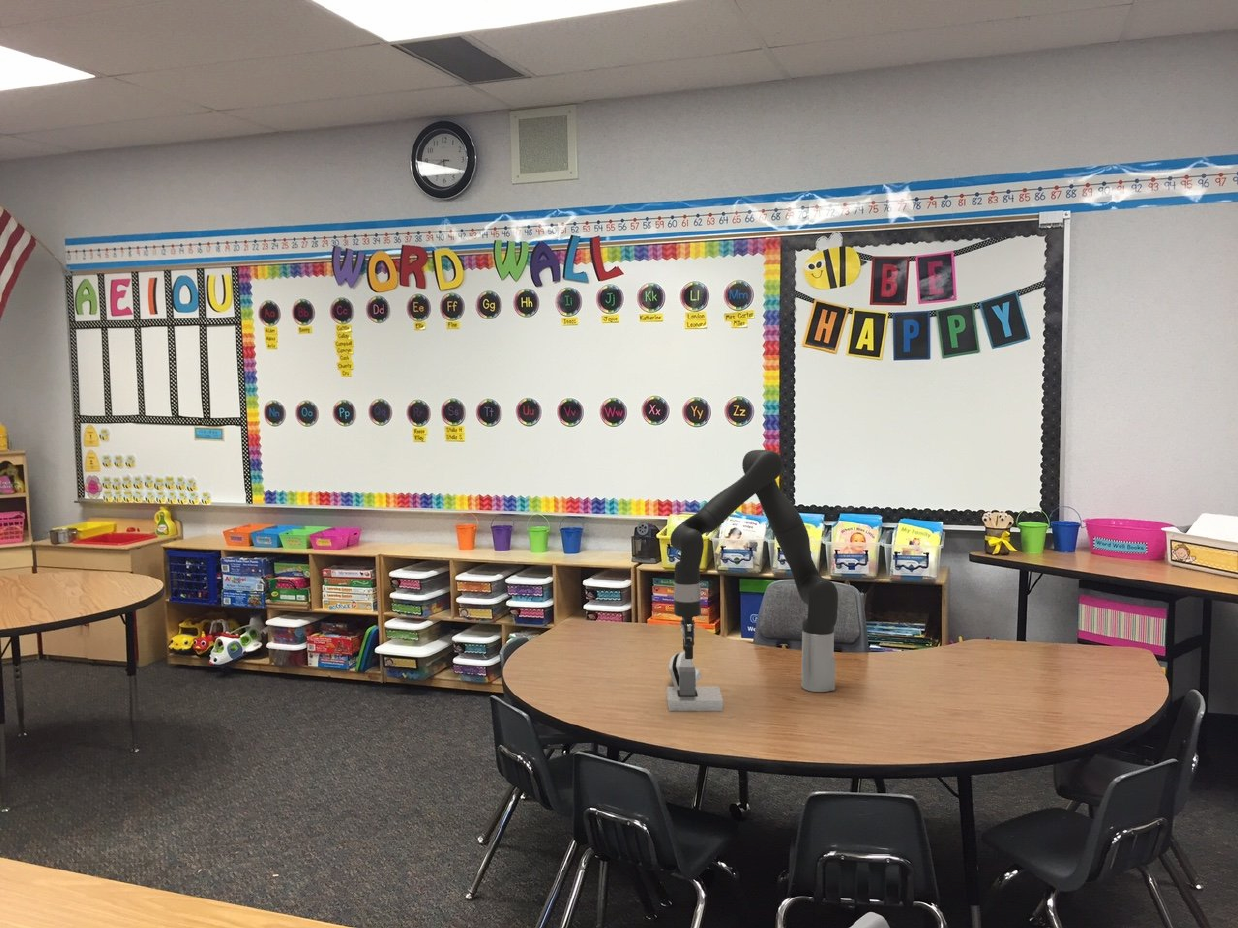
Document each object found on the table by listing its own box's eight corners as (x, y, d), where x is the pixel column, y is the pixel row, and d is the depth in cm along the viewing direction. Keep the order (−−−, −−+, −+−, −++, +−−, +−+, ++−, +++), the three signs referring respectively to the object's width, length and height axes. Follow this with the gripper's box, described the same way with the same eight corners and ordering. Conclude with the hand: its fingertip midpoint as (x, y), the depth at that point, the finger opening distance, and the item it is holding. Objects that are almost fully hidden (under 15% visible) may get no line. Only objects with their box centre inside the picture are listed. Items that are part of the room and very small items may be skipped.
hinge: (692, 692, 277) (680, 660, 277) (677, 696, 278) (665, 664, 278) (701, 675, 293) (691, 644, 293) (687, 679, 294) (677, 648, 294)
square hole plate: (718, 696, 273) (718, 686, 273) (723, 710, 261) (723, 700, 261) (667, 696, 273) (667, 686, 273) (668, 710, 261) (668, 700, 261)
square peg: (694, 701, 269) (694, 667, 268) (695, 706, 265) (695, 671, 264) (679, 701, 269) (679, 666, 268) (679, 706, 265) (679, 671, 264)
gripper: (702, 603, 257) (703, 661, 259) (698, 592, 271) (699, 647, 273) (675, 604, 257) (676, 662, 259) (672, 592, 271) (673, 647, 273)
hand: (687, 654), depth 266 cm, fingers open, 8 cm apart
